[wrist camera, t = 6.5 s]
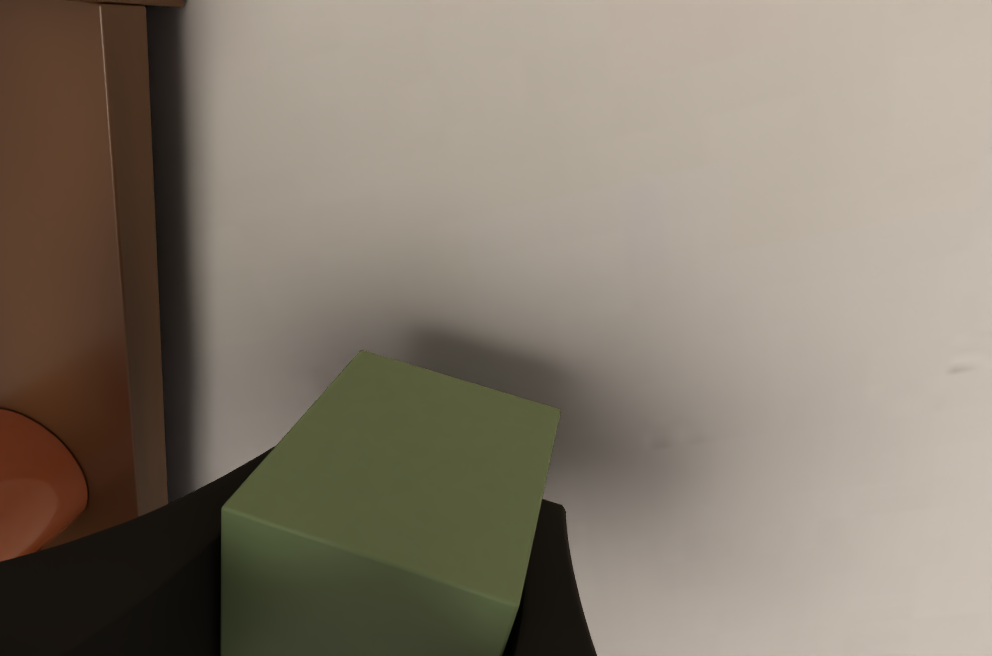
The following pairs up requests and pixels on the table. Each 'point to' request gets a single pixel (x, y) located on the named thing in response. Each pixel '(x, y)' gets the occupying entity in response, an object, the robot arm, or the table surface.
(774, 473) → the table surface
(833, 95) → the table surface
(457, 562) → the green block
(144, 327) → the shelf
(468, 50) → the table surface
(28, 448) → the terracotta cylinder
